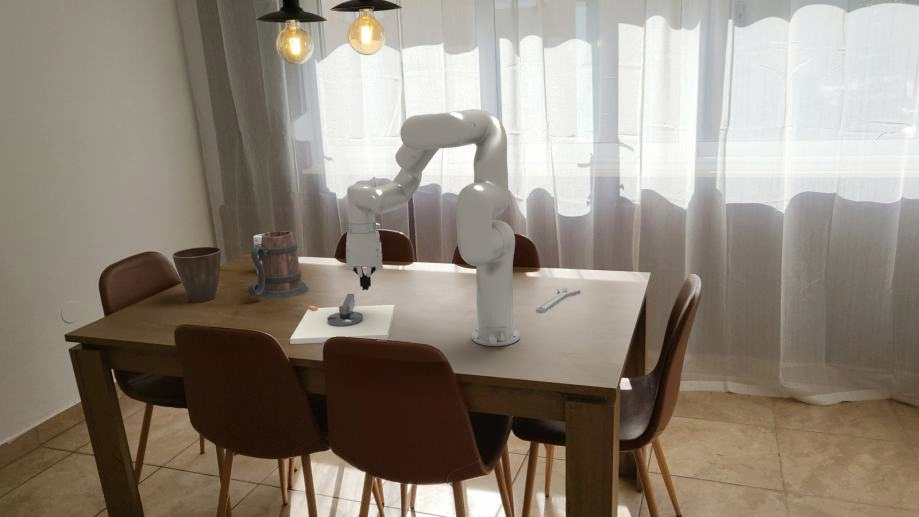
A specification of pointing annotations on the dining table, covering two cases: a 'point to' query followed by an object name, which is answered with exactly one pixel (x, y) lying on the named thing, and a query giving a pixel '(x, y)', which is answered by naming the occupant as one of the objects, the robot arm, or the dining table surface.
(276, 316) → the dining table surface
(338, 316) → the dial
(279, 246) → the tankard
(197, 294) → the plant pot
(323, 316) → the dial board
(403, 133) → the robot arm
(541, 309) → the adjustable wrench
